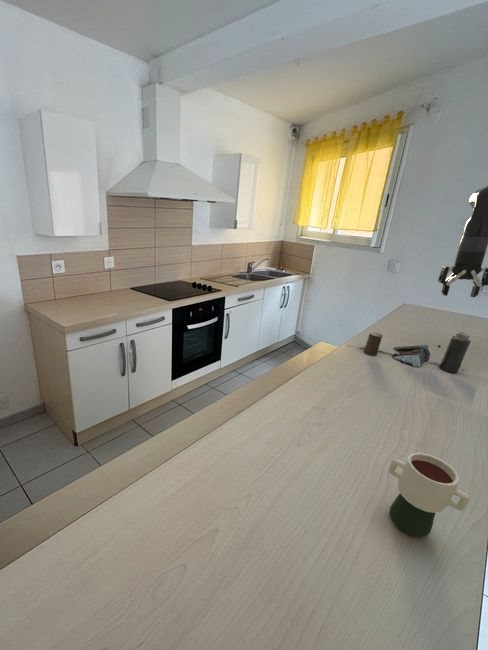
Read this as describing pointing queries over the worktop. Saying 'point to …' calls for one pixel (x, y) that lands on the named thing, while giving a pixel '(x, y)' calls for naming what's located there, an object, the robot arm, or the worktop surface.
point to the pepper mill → (455, 352)
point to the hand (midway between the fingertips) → (458, 296)
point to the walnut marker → (373, 343)
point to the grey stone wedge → (412, 354)
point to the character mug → (423, 492)
